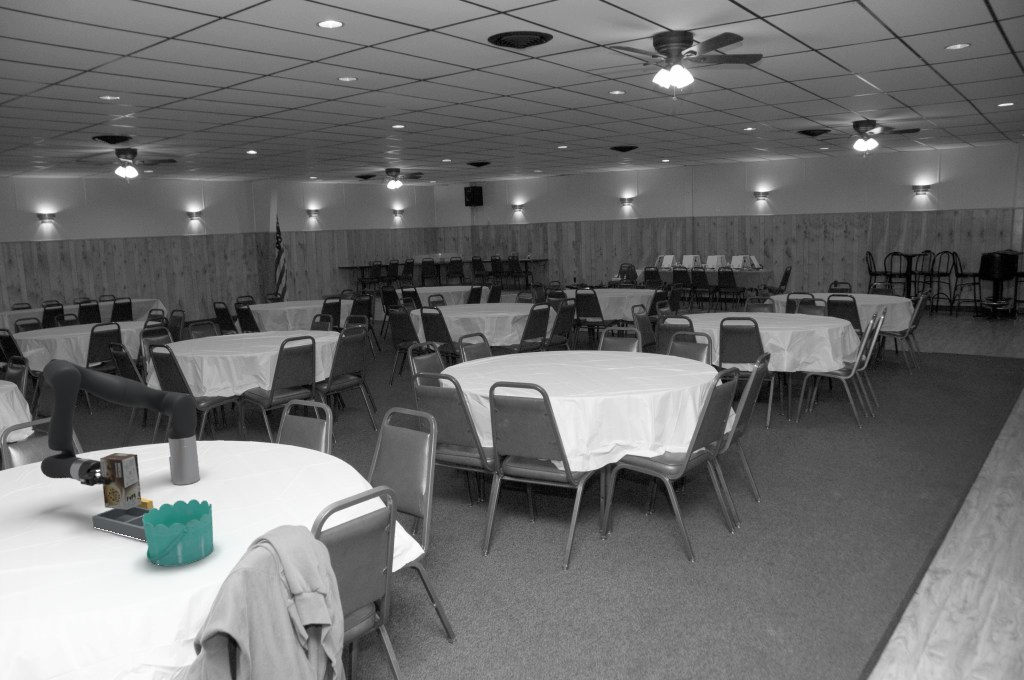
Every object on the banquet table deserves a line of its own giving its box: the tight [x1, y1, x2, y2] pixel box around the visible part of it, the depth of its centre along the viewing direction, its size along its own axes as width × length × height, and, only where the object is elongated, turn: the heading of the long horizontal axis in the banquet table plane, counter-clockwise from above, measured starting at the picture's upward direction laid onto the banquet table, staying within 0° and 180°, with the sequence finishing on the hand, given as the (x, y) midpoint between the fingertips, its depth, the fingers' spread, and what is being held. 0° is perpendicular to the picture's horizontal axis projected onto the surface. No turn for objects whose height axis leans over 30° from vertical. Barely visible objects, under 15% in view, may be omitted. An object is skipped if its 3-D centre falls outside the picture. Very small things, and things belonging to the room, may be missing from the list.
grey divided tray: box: [91, 497, 174, 541], centre depth 244 cm, size 30×14×6 cm, turn 60°
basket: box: [142, 499, 214, 567], centre depth 223 cm, size 19×18×13 cm
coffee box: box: [99, 452, 142, 510], centre depth 246 cm, size 9×6×16 cm
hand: (120, 478), depth 245 cm, fingers closed on coffee box, 7 cm apart
